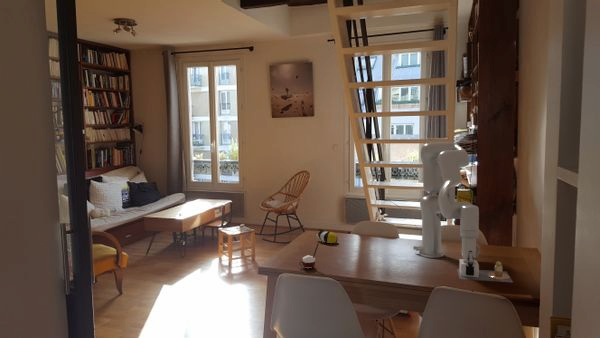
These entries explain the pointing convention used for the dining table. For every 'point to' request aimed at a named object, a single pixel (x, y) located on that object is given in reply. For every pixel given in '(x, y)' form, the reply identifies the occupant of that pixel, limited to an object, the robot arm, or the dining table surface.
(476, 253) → the watch
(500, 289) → the dining table surface
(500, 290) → the dining table surface
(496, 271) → the hub
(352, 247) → the dining table surface
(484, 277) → the board
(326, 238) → the figurine
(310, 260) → the cocoa
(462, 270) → the square hollow frame
